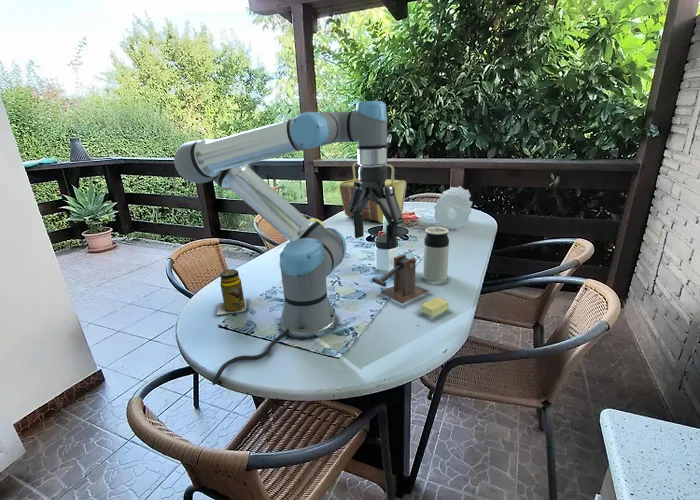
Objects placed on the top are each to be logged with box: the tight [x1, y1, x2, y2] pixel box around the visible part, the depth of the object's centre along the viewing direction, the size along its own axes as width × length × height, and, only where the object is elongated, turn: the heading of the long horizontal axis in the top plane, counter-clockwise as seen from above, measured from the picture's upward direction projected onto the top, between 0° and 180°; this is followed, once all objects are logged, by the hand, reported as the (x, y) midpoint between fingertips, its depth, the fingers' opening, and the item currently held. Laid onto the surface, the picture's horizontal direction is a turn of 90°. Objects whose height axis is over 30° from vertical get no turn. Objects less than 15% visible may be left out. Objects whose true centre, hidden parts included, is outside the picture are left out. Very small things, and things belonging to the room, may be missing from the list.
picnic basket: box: [338, 161, 407, 224], centre depth 202 cm, size 29×26×30 cm
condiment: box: [216, 268, 247, 316], centre depth 111 cm, size 7×8×12 cm
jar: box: [374, 235, 399, 272], centre depth 134 cm, size 9×8×12 cm
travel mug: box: [422, 226, 450, 283], centre depth 123 cm, size 8×8×18 cm
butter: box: [420, 296, 450, 318], centre depth 104 cm, size 7×4×4 cm, turn 128°
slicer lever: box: [371, 256, 409, 288], centre depth 110 cm, size 13×5×2 cm, turn 128°
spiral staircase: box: [433, 185, 474, 230], centre depth 185 cm, size 18×18×25 cm
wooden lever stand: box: [379, 253, 430, 305], centre depth 114 cm, size 12×10×13 cm
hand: (374, 242), depth 102 cm, fingers open, 13 cm apart
